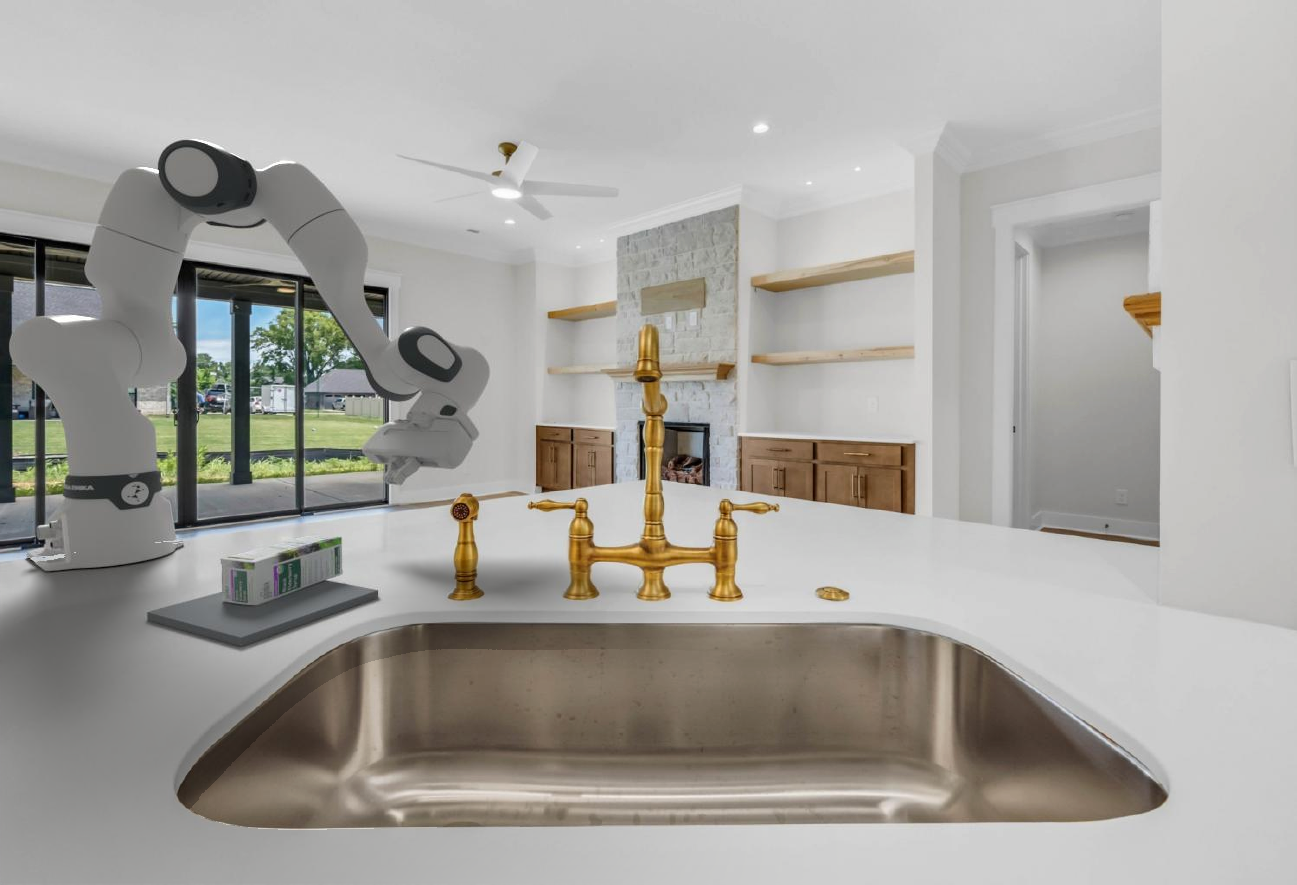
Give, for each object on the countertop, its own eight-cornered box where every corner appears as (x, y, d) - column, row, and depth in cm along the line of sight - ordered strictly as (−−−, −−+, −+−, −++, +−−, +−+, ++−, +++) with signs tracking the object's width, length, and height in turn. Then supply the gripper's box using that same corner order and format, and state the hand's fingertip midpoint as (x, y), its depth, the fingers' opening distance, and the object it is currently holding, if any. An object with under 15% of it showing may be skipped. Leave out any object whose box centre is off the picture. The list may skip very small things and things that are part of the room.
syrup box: (344, 574, 89) (257, 607, 75) (310, 571, 91) (219, 602, 77) (343, 536, 89) (255, 561, 75) (309, 533, 90) (217, 558, 76)
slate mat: (147, 620, 74) (146, 611, 74) (289, 579, 90) (289, 573, 90) (241, 646, 66) (240, 637, 66) (378, 597, 82) (378, 590, 82)
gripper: (381, 407, 111) (335, 466, 103) (469, 409, 103) (426, 473, 95) (401, 431, 116) (358, 489, 108) (487, 434, 107) (448, 498, 99)
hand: (391, 482), depth 101 cm, fingers closed
